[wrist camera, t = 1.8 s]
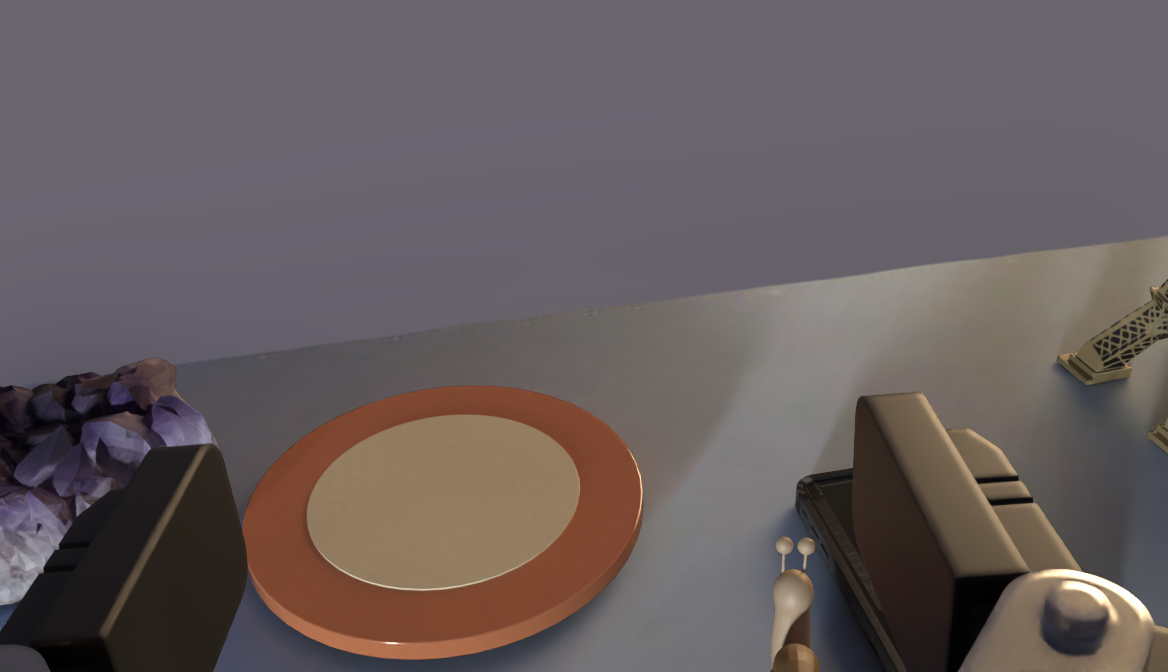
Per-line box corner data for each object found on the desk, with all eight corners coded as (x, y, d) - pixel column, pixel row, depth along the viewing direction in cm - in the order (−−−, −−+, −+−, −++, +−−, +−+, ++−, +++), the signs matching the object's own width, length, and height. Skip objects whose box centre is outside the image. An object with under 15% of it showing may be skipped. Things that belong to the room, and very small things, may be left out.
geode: (-254, 697, 46) (-364, 492, 42) (-145, 546, 56) (-225, 371, 52) (241, 590, 49) (182, 390, 45) (257, 466, 59) (211, 294, 55)
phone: (939, 454, 54) (1121, 687, 41) (937, 472, 55) (1115, 707, 42) (787, 478, 53) (926, 724, 40) (786, 496, 54) (922, 745, 41)
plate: (190, 673, 46) (180, 642, 45) (306, 412, 62) (300, 386, 61) (645, 672, 45) (645, 640, 44) (641, 407, 61) (641, 380, 60)
